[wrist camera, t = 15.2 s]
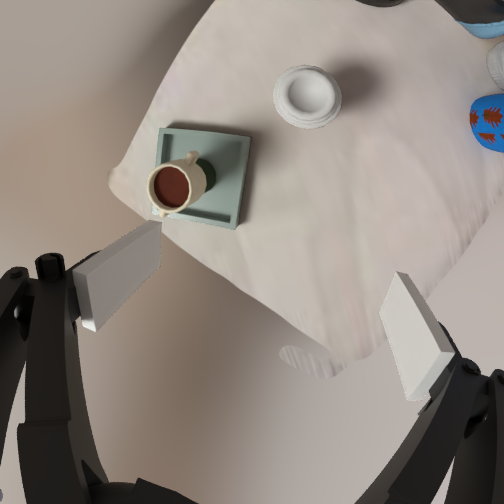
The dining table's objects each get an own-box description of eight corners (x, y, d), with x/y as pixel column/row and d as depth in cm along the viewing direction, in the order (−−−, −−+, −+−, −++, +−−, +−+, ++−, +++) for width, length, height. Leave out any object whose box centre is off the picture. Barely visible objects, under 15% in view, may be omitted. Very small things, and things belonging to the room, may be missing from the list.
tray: (165, 127, 46) (159, 127, 44) (251, 137, 45) (249, 136, 43) (158, 210, 53) (152, 213, 50) (237, 225, 51) (234, 229, 49)
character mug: (197, 139, 46) (163, 140, 34) (232, 158, 46) (208, 165, 34) (171, 192, 50) (134, 209, 38) (203, 211, 51) (174, 234, 39)
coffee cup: (316, 72, 39) (321, 51, 28) (343, 118, 41) (357, 111, 30) (268, 94, 42) (258, 80, 31) (294, 140, 44) (293, 140, 33)
